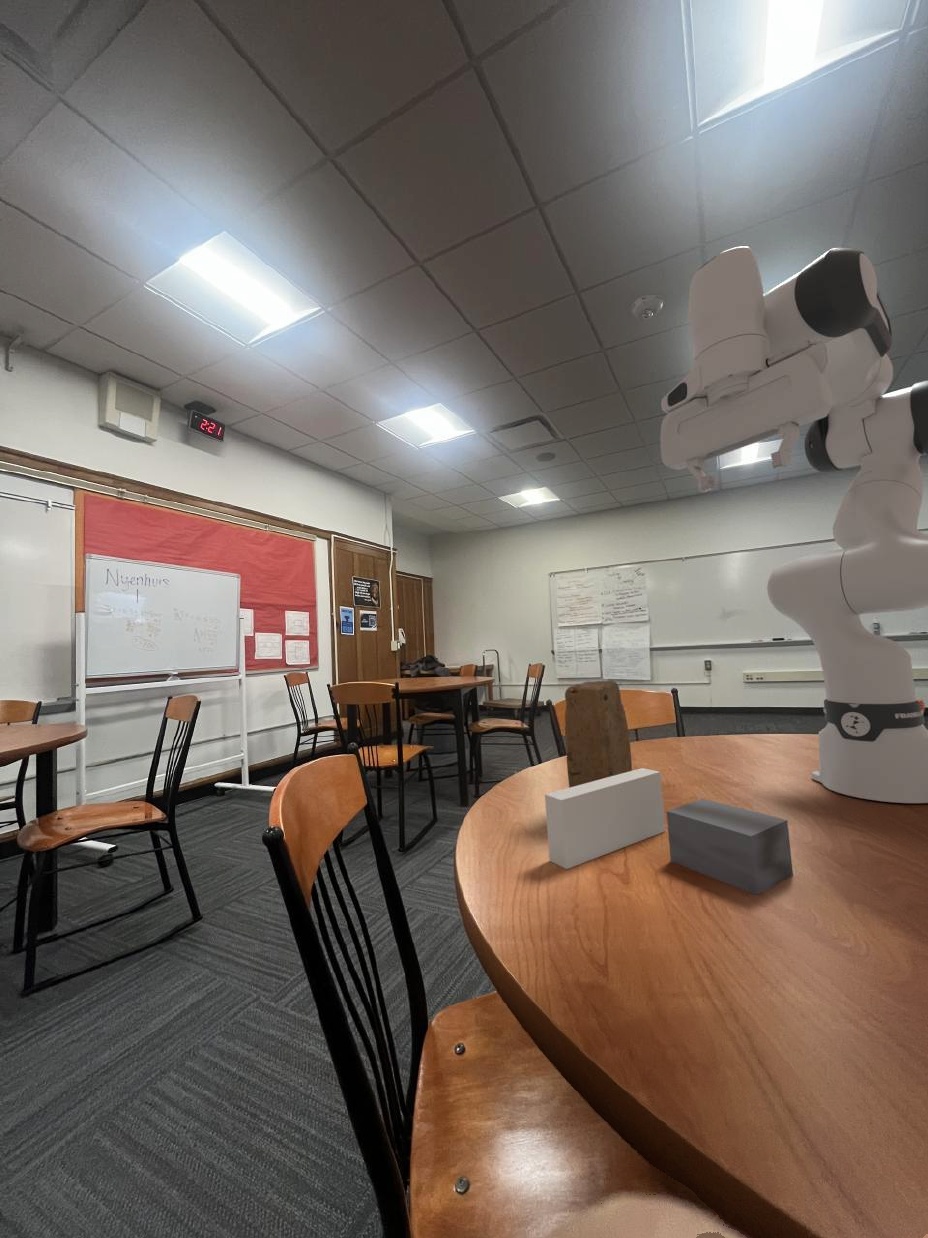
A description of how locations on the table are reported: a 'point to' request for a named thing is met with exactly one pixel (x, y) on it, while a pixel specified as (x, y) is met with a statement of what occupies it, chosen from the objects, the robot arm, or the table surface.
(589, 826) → the cream board
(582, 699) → the block
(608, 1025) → the table surface
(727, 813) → the charcoal block
